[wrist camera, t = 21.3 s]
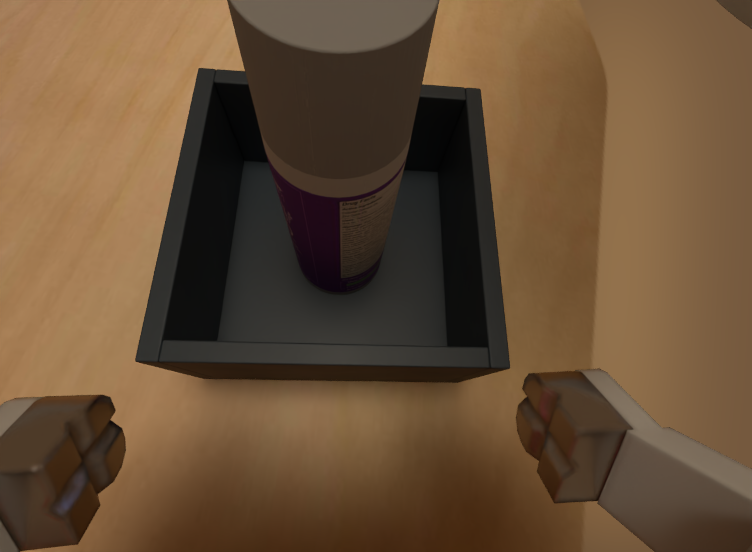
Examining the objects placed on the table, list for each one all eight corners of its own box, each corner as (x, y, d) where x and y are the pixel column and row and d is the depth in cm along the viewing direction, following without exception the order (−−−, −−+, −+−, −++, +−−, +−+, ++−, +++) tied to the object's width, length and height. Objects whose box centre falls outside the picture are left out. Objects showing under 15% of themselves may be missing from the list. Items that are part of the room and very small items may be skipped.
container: (281, 248, 22) (168, -57, 8) (347, 205, 23) (354, -124, 9) (331, 312, 21) (306, 96, 7) (397, 263, 22) (494, -5, 8)
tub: (445, 171, 26) (481, 87, 19) (458, 382, 21) (511, 368, 14) (236, 159, 25) (198, 67, 18) (202, 378, 20) (133, 361, 13)
